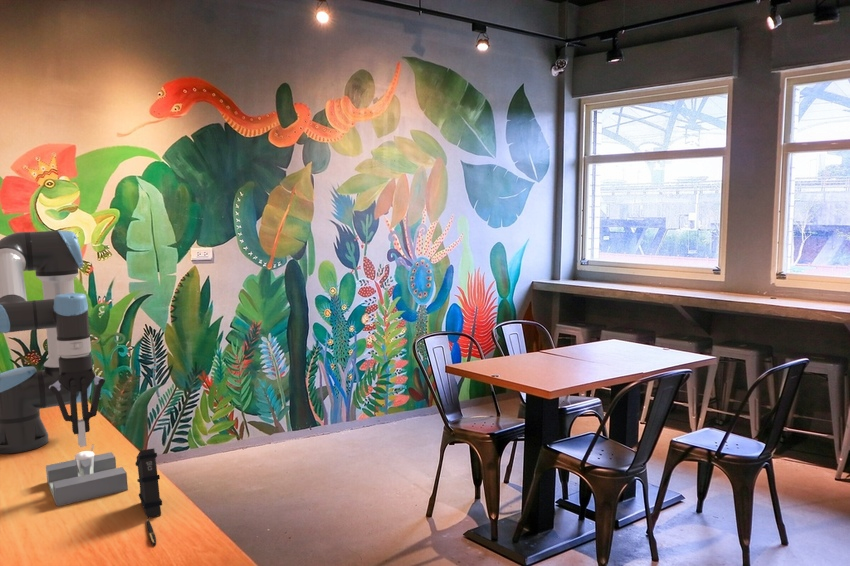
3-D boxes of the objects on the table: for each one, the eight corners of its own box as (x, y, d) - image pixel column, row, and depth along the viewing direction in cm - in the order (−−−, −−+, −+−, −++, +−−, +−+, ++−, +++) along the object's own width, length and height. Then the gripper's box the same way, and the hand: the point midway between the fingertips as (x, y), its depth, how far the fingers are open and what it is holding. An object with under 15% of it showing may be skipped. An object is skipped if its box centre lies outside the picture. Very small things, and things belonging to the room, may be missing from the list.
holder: (47, 482, 183) (45, 465, 182) (112, 467, 192) (111, 452, 191) (57, 506, 167) (55, 488, 167) (127, 489, 176) (126, 472, 176)
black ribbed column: (147, 517, 156) (138, 450, 160) (141, 521, 167) (134, 459, 171) (164, 513, 158) (156, 447, 162) (158, 518, 169) (150, 456, 173)
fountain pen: (144, 522, 158) (144, 516, 158) (150, 521, 159) (149, 514, 159) (151, 549, 146) (151, 542, 145) (157, 547, 146) (157, 540, 146)
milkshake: (103, 482, 182) (100, 445, 181) (87, 490, 177) (84, 452, 176) (89, 480, 183) (86, 443, 182) (73, 488, 178) (70, 450, 177)
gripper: (47, 361, 170) (55, 455, 172) (105, 353, 177) (112, 443, 180) (43, 356, 176) (51, 446, 178) (100, 348, 183) (107, 436, 186)
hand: (82, 445), depth 179 cm, fingers closed
